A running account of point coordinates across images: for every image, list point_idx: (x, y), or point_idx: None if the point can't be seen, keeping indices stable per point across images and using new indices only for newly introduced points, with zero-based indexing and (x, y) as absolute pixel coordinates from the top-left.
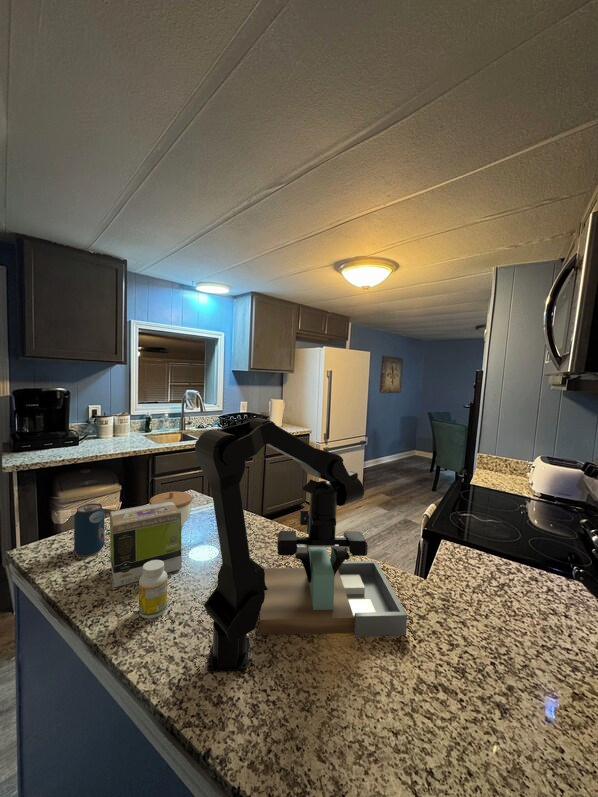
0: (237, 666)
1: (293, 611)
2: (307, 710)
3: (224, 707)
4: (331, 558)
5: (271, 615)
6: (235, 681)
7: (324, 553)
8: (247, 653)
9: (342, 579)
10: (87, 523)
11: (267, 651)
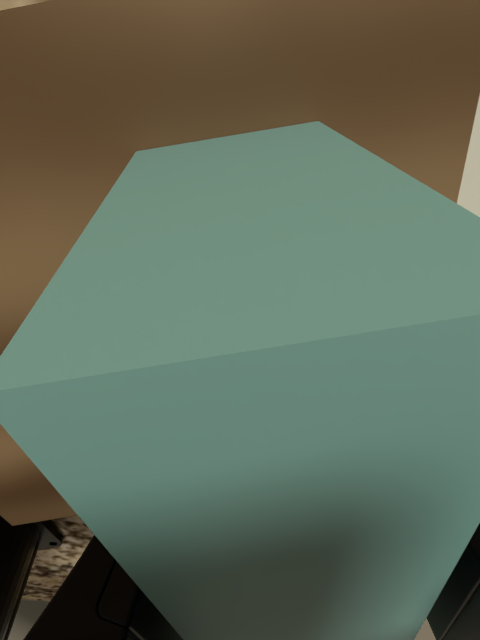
0: (37, 549)
1: None
2: None
3: (64, 574)
4: (460, 578)
5: (46, 507)
6: (54, 549)
7: (396, 560)
8: (40, 526)
9: (474, 119)
10: None
11: None
